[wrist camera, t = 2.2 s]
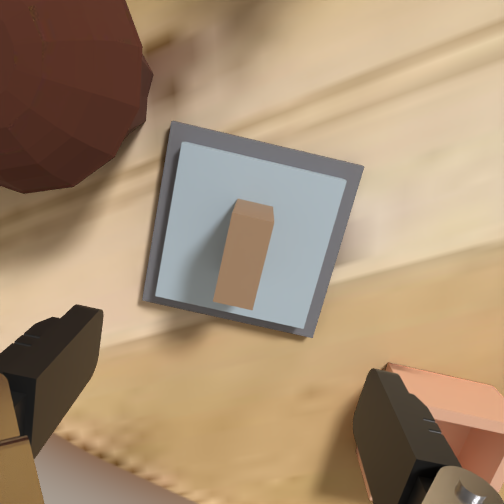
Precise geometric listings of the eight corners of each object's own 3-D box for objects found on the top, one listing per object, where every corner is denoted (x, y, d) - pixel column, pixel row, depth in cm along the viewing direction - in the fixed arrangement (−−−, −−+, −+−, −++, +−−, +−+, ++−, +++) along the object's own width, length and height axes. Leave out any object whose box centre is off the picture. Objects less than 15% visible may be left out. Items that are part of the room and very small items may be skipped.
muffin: (35, -73, 23) (-127, -214, 14) (208, 42, 25) (170, -12, 15) (-39, 117, 26) (-214, 112, 17) (118, 210, 28) (39, 255, 18)
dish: (355, 450, 32) (369, 499, 28) (388, 362, 30) (408, 401, 26) (454, 471, 33) (482, 523, 28) (493, 385, 30) (531, 428, 26)
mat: (145, 295, 29) (142, 300, 28) (174, 121, 26) (171, 120, 25) (311, 332, 30) (312, 338, 29) (361, 165, 26) (364, 166, 25)
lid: (159, 290, 28) (135, 326, 23) (184, 141, 25) (164, 145, 20) (302, 322, 29) (310, 365, 23) (343, 178, 26) (363, 191, 21)
